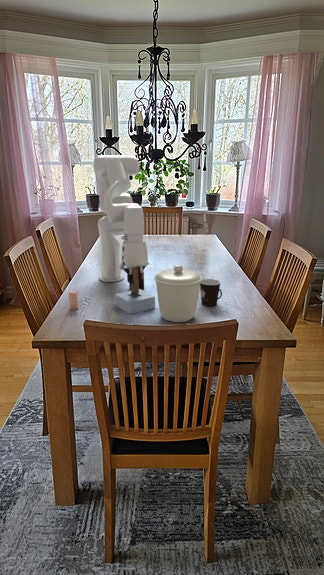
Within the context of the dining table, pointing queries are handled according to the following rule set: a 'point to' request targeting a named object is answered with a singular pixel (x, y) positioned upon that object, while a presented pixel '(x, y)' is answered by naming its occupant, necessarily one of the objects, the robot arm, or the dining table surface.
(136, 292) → the long dowel
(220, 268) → the dining table surface
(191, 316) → the canister
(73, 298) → the short dowel
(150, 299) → the hole block
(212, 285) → the coffee mug
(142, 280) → the battery
